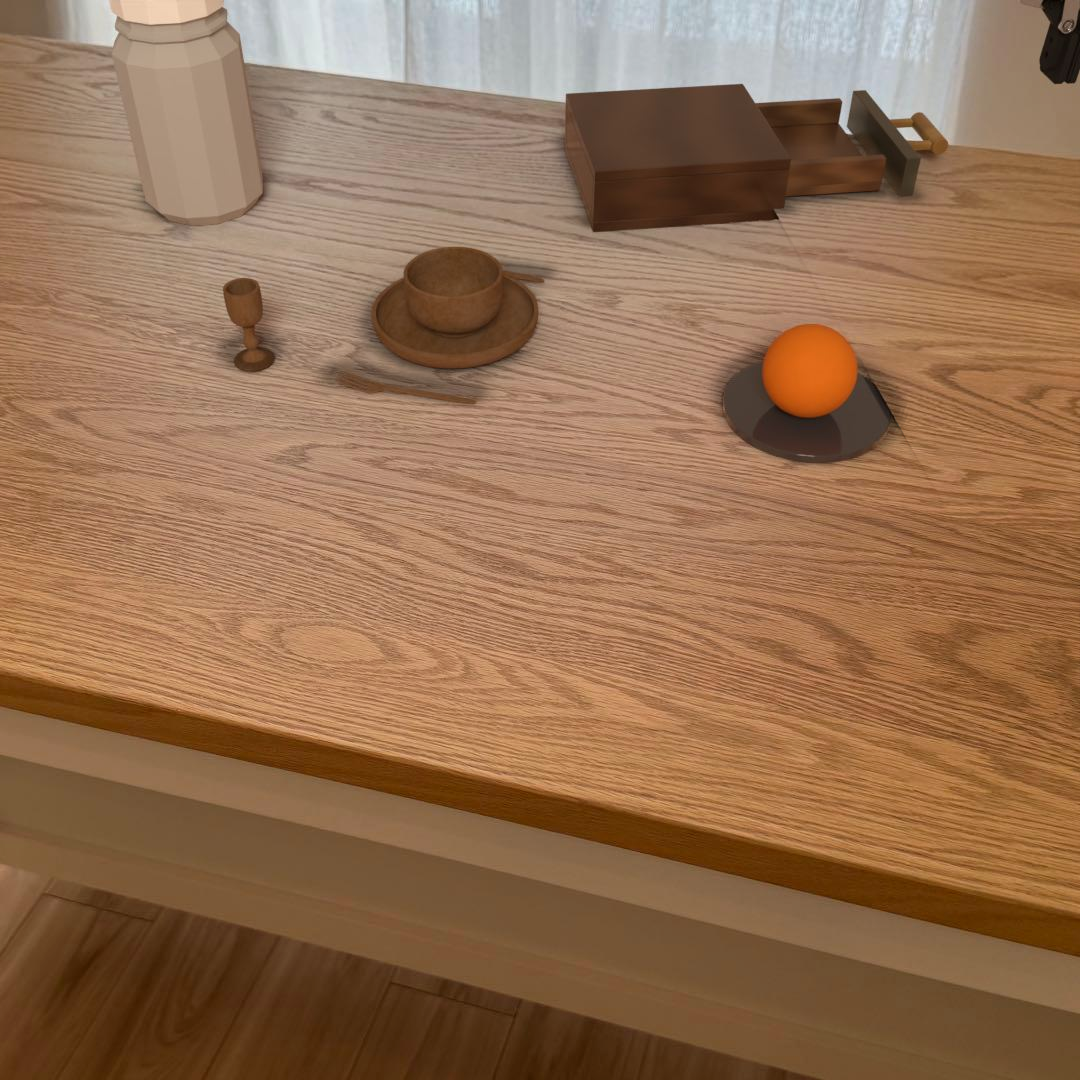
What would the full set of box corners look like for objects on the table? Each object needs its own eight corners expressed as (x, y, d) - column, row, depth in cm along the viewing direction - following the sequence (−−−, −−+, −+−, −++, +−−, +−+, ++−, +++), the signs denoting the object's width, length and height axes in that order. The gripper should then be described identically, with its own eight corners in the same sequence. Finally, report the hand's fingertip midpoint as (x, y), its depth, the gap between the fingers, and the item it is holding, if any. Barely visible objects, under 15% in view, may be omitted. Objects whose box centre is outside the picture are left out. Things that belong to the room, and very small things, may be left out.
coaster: (857, 358, 87) (859, 351, 87) (913, 455, 79) (915, 448, 79) (705, 370, 86) (705, 363, 86) (746, 470, 78) (747, 463, 78)
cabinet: (736, 140, 113) (743, 83, 109) (782, 219, 102) (791, 158, 98) (564, 151, 111) (565, 93, 107) (593, 232, 100) (595, 171, 97)
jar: (130, 227, 101) (74, -2, 88) (169, 172, 108) (123, -47, 96) (248, 234, 100) (208, 4, 88) (279, 178, 107) (246, -42, 95)
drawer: (903, 123, 113) (910, 87, 111) (960, 193, 103) (970, 155, 101) (702, 135, 111) (705, 98, 109) (741, 208, 101) (746, 169, 99)
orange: (835, 366, 84) (847, 298, 80) (863, 429, 80) (876, 361, 76) (749, 379, 84) (755, 311, 79) (772, 443, 80) (780, 376, 76)
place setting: (505, 414, 82) (503, 339, 78) (224, 374, 86) (209, 300, 82) (561, 279, 95) (562, 209, 91) (314, 249, 98) (305, 179, 94)
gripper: (1060, -166, 83) (986, 101, 95) (1267, -169, 84) (1167, 93, 97) (1014, -195, 88) (949, 61, 101) (1209, -198, 90) (1121, 54, 102)
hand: (1056, 76), depth 99 cm, fingers closed
